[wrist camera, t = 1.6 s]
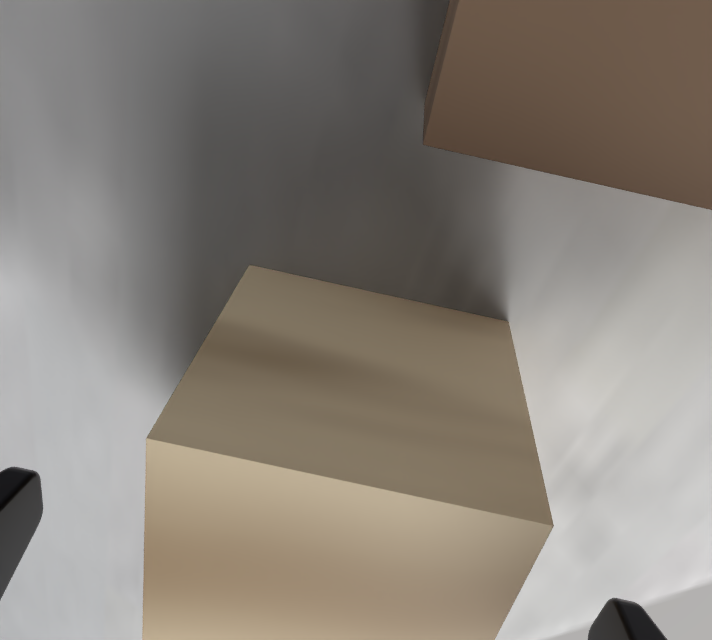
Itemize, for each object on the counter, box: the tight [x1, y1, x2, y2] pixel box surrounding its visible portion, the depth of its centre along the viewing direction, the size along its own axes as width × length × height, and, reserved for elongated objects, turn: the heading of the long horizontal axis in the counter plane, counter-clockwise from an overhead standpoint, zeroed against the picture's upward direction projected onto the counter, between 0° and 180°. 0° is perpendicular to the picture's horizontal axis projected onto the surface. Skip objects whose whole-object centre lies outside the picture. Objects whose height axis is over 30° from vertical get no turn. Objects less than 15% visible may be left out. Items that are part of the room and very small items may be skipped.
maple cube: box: [142, 265, 554, 640], centre depth 11 cm, size 5×5×5 cm
